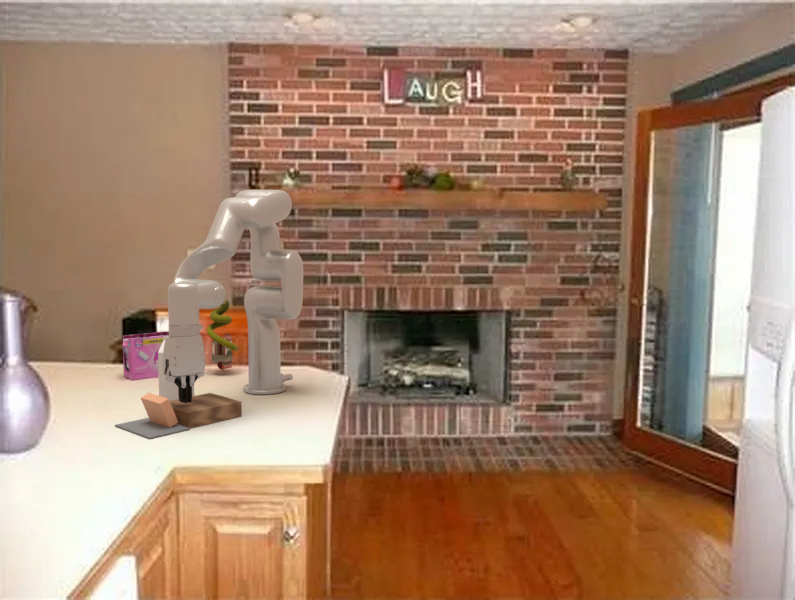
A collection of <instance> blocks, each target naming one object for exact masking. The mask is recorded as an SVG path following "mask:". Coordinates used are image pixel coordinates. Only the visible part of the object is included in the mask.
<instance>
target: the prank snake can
mask: <svg viewBox="0 0 795 600" xmlns="http://www.w3.org/2000/svg"><path fill="white" fill-rule="evenodd" d="M229 308H230V301H229V300H228V299H226V298H225V299H224V301H223V303H222V304H221V305H220V306H218V307H216V308H214V310H213V311H211V312H210V314H209V318H210V320H211V321H212V323H210V324H209V325H208V326H207V327H206V332H207V333H206V335H208V337H210V338H211V351H212V352H211V361H212V364H214V365H217V367H218V369H219V370H225V369H230V368H232V367H233V363H232V362H233V361H232V360H233V351H234V352H238V351H239V346H238V345H237V344H235V343H233V342H232V341H233V339H232V334H231V333H223V336H220V335H218V334H217V333H216V332H214V330H216V329H218V328H221V327H225V326H228V325H230V324H231V323H232V321H233V318H232V317H231V316H230V315H225V313H226V312H227V311H228V310H229Z"/></svg>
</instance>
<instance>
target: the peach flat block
mask: <svg viewBox="0 0 795 600" xmlns="http://www.w3.org/2000/svg"><path fill="white" fill-rule="evenodd" d="M140 401H141V403H142V404H143V407H144V410H145V411H146V414H147V416H148V417H147V418H149V419H150V421H152V422H155V423H158V424H161V425H164V426H167V427H172V426H173V425H175V424H176V423H178V420H177V418H176V415H175V413H174V411H173V408H172V406H171V403H170V401H169V398H165V397H162V396H159V394H155V393H152V392H147V393H146V394H144V395H142V396H141V397H140Z"/></svg>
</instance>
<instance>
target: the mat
mask: <svg viewBox="0 0 795 600" xmlns="http://www.w3.org/2000/svg"><path fill="white" fill-rule="evenodd" d="M114 427H115V428H119V429H120V430H123V431H125V432H126V431H127V432H129V433H132V434H135V435H137V436H140V437H143V438H145V439H148V440H152V439H157V438H161V437H164V436H168V435H169V436H170V435H174V434H178V433H181V432H187V431H190V430H191V428H188V427H185V426H182V425H179V424H175V425H173V426H172V427H167V426H164V425H161V424H158V423H155V422H152V421H150V419H149V417H145V418H140V419H136V420H132V421H127V422H122V423H117V424H114Z"/></svg>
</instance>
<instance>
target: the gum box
mask: <svg viewBox="0 0 795 600" xmlns="http://www.w3.org/2000/svg"><path fill="white" fill-rule="evenodd" d="M164 336H169V330H167V331H159V332H158V331H157V332H147V333H137V334H128V335H127V334H125V335H123V336H122V350H123V351H122V353H123V355H122V358H123V361H122V362H123V365H122V367H123V377H125V378H127V379H129V380H131V381H137V380H145V379H146V380H147V379H153V378H159V371H158V351H159V349H160V347H161V345H162V343H163V340H164Z"/></svg>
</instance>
